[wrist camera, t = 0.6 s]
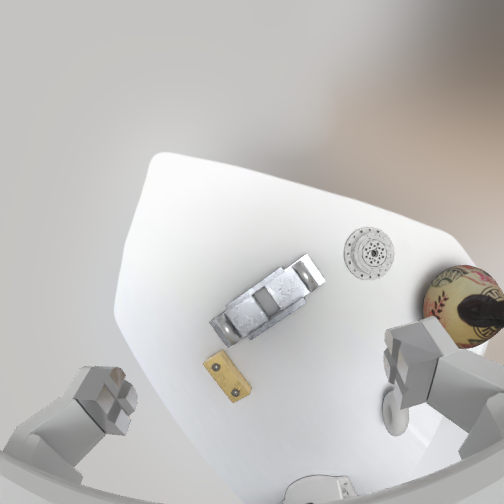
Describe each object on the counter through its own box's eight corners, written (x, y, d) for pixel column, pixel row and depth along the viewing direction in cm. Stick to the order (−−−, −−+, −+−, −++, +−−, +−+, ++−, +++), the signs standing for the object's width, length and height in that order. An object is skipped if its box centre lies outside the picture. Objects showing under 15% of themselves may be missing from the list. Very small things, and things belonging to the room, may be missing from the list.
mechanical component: (354, 219, 55) (335, 268, 55) (359, 216, 50) (339, 269, 51) (398, 239, 54) (381, 287, 54) (406, 238, 49) (388, 289, 49)
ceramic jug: (477, 276, 51) (575, 285, 21) (455, 344, 51) (542, 390, 21) (418, 252, 53) (516, 246, 23) (394, 325, 53) (475, 378, 23)
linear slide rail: (326, 283, 55) (329, 285, 50) (232, 347, 57) (228, 354, 52) (303, 250, 56) (304, 249, 51) (210, 316, 57) (203, 320, 53)
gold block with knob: (223, 349, 57) (218, 355, 53) (251, 387, 56) (249, 395, 52) (207, 358, 58) (202, 365, 54) (235, 395, 57) (232, 404, 53)
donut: (394, 419, 52) (408, 442, 42) (380, 423, 53) (392, 446, 43) (396, 381, 53) (413, 401, 43) (381, 384, 53) (396, 405, 43)
